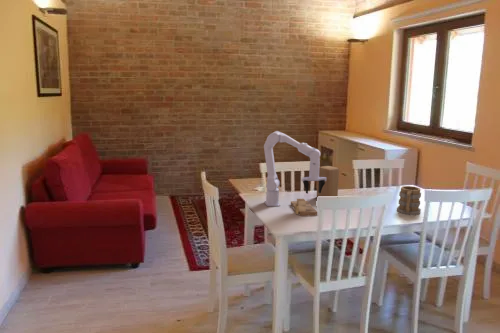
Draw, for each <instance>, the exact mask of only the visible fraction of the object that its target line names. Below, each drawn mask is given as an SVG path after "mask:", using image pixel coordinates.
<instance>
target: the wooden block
mask: <svg viewBox="0 0 500 333" xmlns="http://www.w3.org/2000/svg"><path fill="white" fill-rule="evenodd" d="M319 177H326V181H325V184H324V186H323V188H322V190H321V193H319V192H318V190H319V181H316V198H318V196H338V195H339V180H340V178H339V177H340V168H339V167H336V166H331V165H324V166H320V168H319ZM338 197H339V196H338Z"/></svg>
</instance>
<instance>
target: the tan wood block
mask: <svg viewBox="0 0 500 333" xmlns="http://www.w3.org/2000/svg"><path fill="white" fill-rule="evenodd" d="M296 201H297V204H295V209H294V213H295V215H299V214H298V213H299V212H300V211H306V201H307V200H306V199H305V198H296Z"/></svg>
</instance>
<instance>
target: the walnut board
mask: <svg viewBox="0 0 500 333" xmlns="http://www.w3.org/2000/svg"><path fill="white" fill-rule="evenodd" d="M305 201H306V211H300V212H299V213H298V214H297V215H299V216H300V217H303V216H307V217H308V216H318V211H317V210H316V208H314V207H313V206H312V205H311V203H309V201H308V200H305ZM295 204H297V200H294V201H290V205H291V207H292V208H293V209H294V210H295Z"/></svg>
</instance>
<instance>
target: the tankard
mask: <svg viewBox="0 0 500 333" xmlns="http://www.w3.org/2000/svg"><path fill="white" fill-rule="evenodd" d="M398 193H399V199H398V206H397V207H396V211H397V212H399V213H401V214H405V215H410V214H411V215H413V216H414V215H420V213H421V210H422V209H421V208H419V207H420V205H421V200H420V198H421V197H422V192H421V188H419V187H416V186H411V185H404V186H401V187H400V191H399V192H398Z"/></svg>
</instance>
